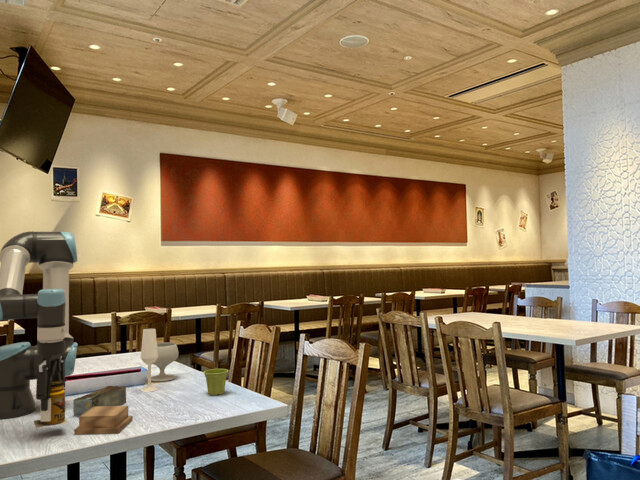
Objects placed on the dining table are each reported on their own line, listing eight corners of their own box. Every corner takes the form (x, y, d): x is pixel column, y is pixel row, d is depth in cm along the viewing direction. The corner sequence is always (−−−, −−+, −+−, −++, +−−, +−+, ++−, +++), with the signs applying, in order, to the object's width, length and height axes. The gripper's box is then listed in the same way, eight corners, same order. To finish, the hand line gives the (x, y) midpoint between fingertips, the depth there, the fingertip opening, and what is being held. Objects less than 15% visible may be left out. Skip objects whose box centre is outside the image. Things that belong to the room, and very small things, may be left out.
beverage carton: (71, 417, 177) (71, 397, 177) (108, 402, 195) (108, 384, 195) (92, 418, 175) (92, 398, 175) (127, 403, 193) (127, 385, 193)
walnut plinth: (74, 434, 158) (74, 417, 158) (91, 421, 171) (91, 405, 171) (118, 433, 158) (118, 416, 158) (132, 420, 171) (132, 404, 171)
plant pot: (199, 396, 201) (198, 372, 201) (211, 390, 210) (211, 368, 210) (221, 397, 198) (221, 374, 199) (232, 391, 207) (232, 369, 208)
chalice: (183, 375, 238) (183, 342, 238) (171, 382, 224) (171, 347, 224) (153, 375, 239) (153, 342, 240) (139, 382, 225) (139, 347, 226)
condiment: (67, 423, 159) (68, 383, 159) (35, 428, 154) (36, 387, 154) (64, 416, 165) (64, 378, 165) (33, 421, 160) (33, 382, 160)
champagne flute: (161, 387, 215) (160, 328, 216) (154, 391, 209) (153, 330, 210) (145, 387, 216) (144, 328, 217) (137, 391, 209) (137, 330, 210)
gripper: (48, 346, 151) (48, 427, 150) (77, 335, 170) (77, 407, 169) (22, 346, 150) (21, 428, 150) (53, 335, 169) (53, 408, 169)
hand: (51, 417), depth 160 cm, fingers closed on condiment, 6 cm apart
